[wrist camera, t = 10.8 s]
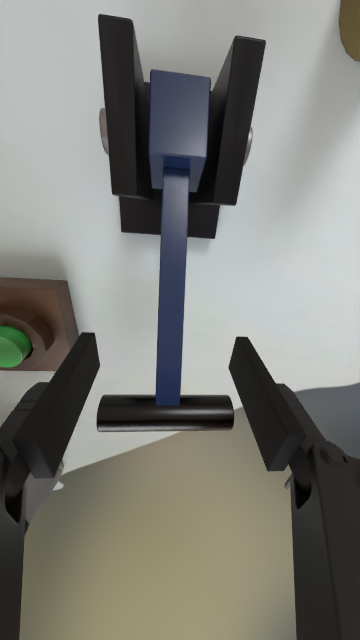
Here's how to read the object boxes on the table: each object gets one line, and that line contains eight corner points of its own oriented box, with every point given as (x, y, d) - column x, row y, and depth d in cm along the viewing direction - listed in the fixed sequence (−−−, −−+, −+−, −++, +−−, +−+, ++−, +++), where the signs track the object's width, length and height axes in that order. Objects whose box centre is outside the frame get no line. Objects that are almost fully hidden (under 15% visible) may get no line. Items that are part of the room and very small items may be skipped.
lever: (220, 413, 11) (236, 444, 9) (108, 414, 11) (92, 447, 8) (237, 136, 10) (261, 83, 7) (111, 121, 9) (94, 59, 7)
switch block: (83, 357, 28) (70, 382, 24) (5, 356, 27) (-22, 381, 23) (67, 280, 22) (46, 296, 18) (-32, 275, 21) (-75, 291, 18)
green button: (36, 356, 22) (27, 368, 21) (-3, 356, 22) (-15, 367, 20) (25, 326, 20) (14, 335, 19) (-18, 324, 20) (-33, 334, 18)
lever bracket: (212, 237, 21) (264, 274, 10) (123, 230, 20) (72, 264, 9) (231, 101, 16) (380, -129, 5) (115, 86, 15) (-23, -229, 4)
